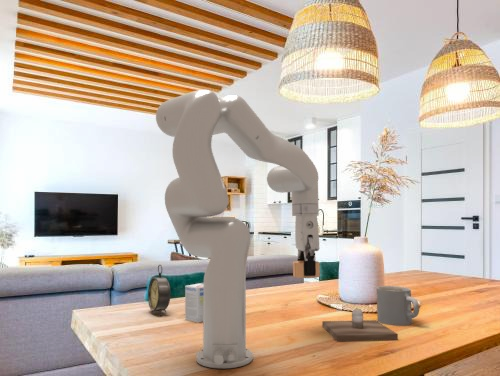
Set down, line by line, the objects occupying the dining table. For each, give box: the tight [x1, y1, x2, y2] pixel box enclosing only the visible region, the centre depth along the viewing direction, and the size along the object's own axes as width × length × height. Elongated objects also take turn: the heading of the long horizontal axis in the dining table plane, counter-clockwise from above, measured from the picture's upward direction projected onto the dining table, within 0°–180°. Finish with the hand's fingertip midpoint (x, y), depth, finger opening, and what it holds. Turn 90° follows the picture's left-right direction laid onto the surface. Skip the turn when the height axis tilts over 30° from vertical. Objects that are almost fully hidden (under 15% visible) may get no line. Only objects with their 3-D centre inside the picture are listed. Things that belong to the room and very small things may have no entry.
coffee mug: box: [376, 285, 420, 327], centre depth 125 cm, size 13×10×10 cm
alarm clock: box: [147, 264, 172, 317], centre depth 138 cm, size 11×5×16 cm, turn 31°
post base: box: [321, 308, 399, 342], centre depth 114 cm, size 15×16×6 cm
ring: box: [292, 260, 321, 279], centre depth 116 cm, size 7×7×4 cm
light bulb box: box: [184, 282, 204, 324], centre depth 131 cm, size 11×7×11 cm, turn 141°
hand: (306, 273), depth 116 cm, fingers closed on ring, 7 cm apart
